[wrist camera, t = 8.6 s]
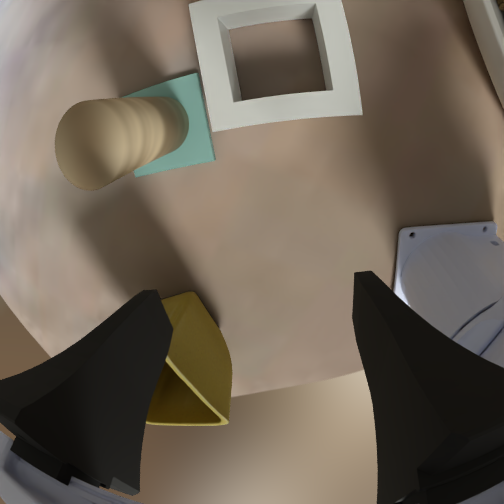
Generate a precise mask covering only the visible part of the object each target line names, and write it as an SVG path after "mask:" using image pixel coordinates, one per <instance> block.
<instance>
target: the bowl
mask: <svg viewBox="0 0 504 504" xmlns="http://www.w3.org/2000/svg"><path fill="white" fill-rule="evenodd" d="M463 2H464V6H465V9H466V12H467V15H468V18H469V21H470V24H471V27H472V30H473V33H474V35H475V38H476V41H477V44H478V46H479V49H480V52H481V54H482V57H483V60H484V62H485V65H486V67H487V70H488V73H489V75H490V77H491V80H492V83H493V85H494V87H495V90H496V92H497V95H498V97H499V99H500V102H501V104H502V106H503V109H504V0H463Z"/></svg>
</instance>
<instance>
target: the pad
mask: <svg viewBox="0 0 504 504" xmlns="http://www.w3.org/2000/svg"><path fill="white" fill-rule="evenodd" d="M126 97H170V98H173V99H175V100H177V101H178V102H179V103H180V104H181V105H182V106H183V107H184V108H185V110H186V112H187V115H188V118H189V131H188V134H187V137H186V139H185V141H184V142H183V144H182V145H181V146H180V147H179V148H178V149H176V150H175V151H173V152H171V153H169V154H166V155H164V156H162V157H160V158H158V159H156V160H154V161H152V162H150V163H148V164H146V165H144V166H142V167H140V168H138V169H136V170H134V173H135V177H140V176H144V175H148V174H152V173H157V172H161V171H166V170H170V169H175V168H180V167H185V166H190V165H195V164H200V163H205V162H211V161H215V160H216V159H215V154H214V149H213V144H212V139H211V134H210V129H209V124H208V119H207V114H206V109H205V104H204V99H203V94H202V89H201V83H200V78H199V73H194V74H190V75H187V76H183V77H180V78H176V79H173V80H169V81H166V82H163V83H160V84H157V85H154V86H151V87H148V88H145V89H142V90H140V91H137V92H134V93H132V94H129V95H126V96H124V97H121V98H126Z"/></svg>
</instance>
